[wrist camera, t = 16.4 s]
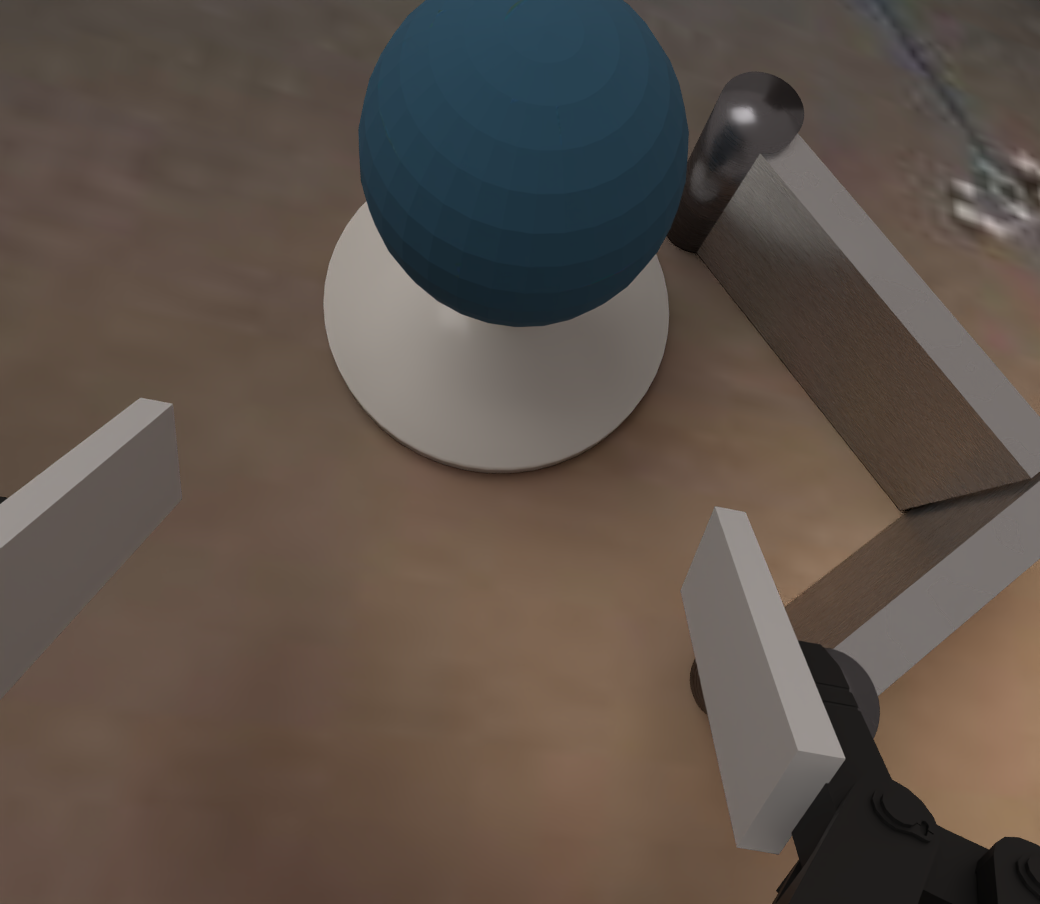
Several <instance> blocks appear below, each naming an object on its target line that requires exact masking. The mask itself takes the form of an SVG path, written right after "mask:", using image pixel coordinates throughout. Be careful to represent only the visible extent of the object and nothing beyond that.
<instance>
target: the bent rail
mask: <svg viewBox="0 0 1040 904" xmlns="http://www.w3.org/2000/svg"><path fill="white" fill-rule="evenodd" d="M803 120H804V108H803V104H802V102H801V99H800V97H799V96H798V94H797V93H796V91H795V90H794V89H793V88H792V87H791V86H790V85H789V84H788V83H786V82H785V81H784V80H782V79H780V78H778V77H776V76H774V75H771V74H768V73H763V72H747V73H743V74H740V75H738V76H736V77H734V78H732V79H731V80H730V81H729V82H728V83H727V84H726V85H725V87H724V89H723V90H722V92H721V94H720V96H719V99H718V101H717V103H716V105H715V107H714V109H713V111H712V113H711V115H710V117H709V119H708V121H707V123H706V125H705V127H704V129H703V131H702V133H701V135H700V137H699V139H698V141H697V143H696V145H695V147H694V150H693V152H692V154H691V156H690V158H689V160H688V162H687V170H686V183H685V186H684V190H683V193H682V197H681V200H680V204H679V207H678V210H677V213H676V215H675V218H674V220H673V223H672V226H671V228H670V230H669V232H668V234H667V236H668V238H669V239H670V240H671V241H672V242H673V243H674V244H675V245H676V246H678V247H679V248H681V249H683V250H686V251H689V252H694V253H697V254H698V255H699V256H700V258H701V259H702V260H703V261H704V263H705V264H706V265H707V266H708V268H709V269H710V270H711V271H712V273H713V274H714V275H715V277H716V278H717V279H718V280H719V282H720V283H721V284H722V285H723V287H724V288H725V289H726V290H727V292H728V293H729V294H730V296H731V297H732V298H733V299H734V301H735V302H736V303H737V304H738V306H739V307H740V308H741V309H742V311H743V312H744V313H745V315H746V316H747V317H748V318H749V320H750V321H751V322H752V323H753V325H754V326H755V327H756V328H757V330H758V331H759V332H760V334H761V335H762V336H763V337H764V339H765V340H766V341H767V342H768V344H769V345H770V346H771V347H772V349H773V350H774V351H775V353H776V354H777V355H778V356H779V358H780V359H781V360H782V361H783V363H784V364H785V365H786V366H787V368H788V369H789V370H790V372H791V373H792V374H793V375H794V377H795V378H796V379H797V380H798V382H799V383H800V384H801V386H802V387H803V388H804V389H805V391H806V392H807V393H808V394H809V396H810V397H811V398H812V399H813V401H814V402H815V403H816V405H817V406H818V407H819V408H820V410H821V411H822V412H823V413H824V415H825V416H826V417H827V418H828V420H829V421H830V422H831V424H832V425H833V426H834V427H835V429H836V430H837V431H838V432H839V434H840V435H841V436H842V437H843V439H844V440H845V441H846V443H847V444H848V445H849V446H850V448H851V449H852V450H853V451H854V453H855V454H856V455H857V456H858V458H859V459H860V460H861V462H862V463H863V464H864V465H865V467H866V468H867V469H868V470H869V472H870V473H871V474H872V475H873V477H874V478H875V479H876V481H877V482H878V483H879V484H880V486H881V487H882V488H883V489H884V491H885V492H886V493H887V494H888V496H889V497H890V498H891V500H892V501H893V502H894V503H895V505H896V506H897V507H898V508H899V510H904V509H908V508H912V507H913V508H912V509H910V510H909V511H908V512H906V513H905V514H904V515H903V516H901V517H900V518H899V519H898V520H896V521H895V522H894V523H892V524H891V525H890V526H889V527H887V528H886V529H885V530H883V531H882V532H881V533H880V534H878V535H877V536H876V537H874V538H873V539H872V540H871V541H869V542H868V543H867V544H865V545H864V546H863V547H862V548H860V549H859V550H858V551H856V552H855V553H854V554H853V555H851V556H850V557H849V558H847V559H846V560H845V561H844V562H842V563H841V564H840V565H838V566H837V567H836V568H835V569H833V570H832V571H831V572H830V573H828V574H827V575H826V576H824V577H823V578H822V579H821V580H819V581H818V582H817V583H815V584H814V585H813V586H812V587H810V588H809V589H808V590H806V591H805V592H804V593H803V594H801V595H800V596H799V597H797V598H796V599H795V600H794V601H792V602H791V603H790V604H788V605H787V606H786V607H785V611H786V613H787V616H788V618H789V620H790V623H791V625H792V628H793V630H794V633H795V635H796V638H797V640H799V641H805V642H810V643H816V644H821V645H822V646H823V647H824V649H825V650H826V651H827V652H828V653H829V654H830V655H831V657H832V658H833V659H834V660H835V661H836V662H837V663H838V665H839V666H840V668H841V670H842V672H843V674H844V677H845V679H846V681H847V683H848V685H849V687H850V689H849V691H850V692H851V693H852V694H853V696H854V698H855V700H856V703H857V705H858V711H861V714H862V716H863V718H864V720H865V722H866V724H867V727H868V729H869V731H870V733H871V735H872V737H873V738H874V737H875V734H876V731H877V728H878V724H879V716H880V707H879V700H878V695H880V694H881V693H882V692H883V691H884V690H886V689H887V688H888V687H889V686H890V685H891V684H893V683H894V682H895V681H896V680H897V679H898V678H900V677H901V676H902V675H903V674H904V673H906V672H907V671H908V670H909V669H910V668H911V667H913V666H914V665H915V664H916V663H917V662H918V661H920V660H921V659H922V658H923V657H924V656H926V655H927V654H928V653H929V652H930V651H931V650H933V649H934V648H935V647H936V646H937V645H938V644H940V643H941V642H942V641H943V640H944V639H946V638H947V637H948V636H949V635H950V634H951V633H953V632H954V631H955V630H956V629H957V628H958V627H960V626H961V625H962V624H963V623H964V622H966V621H967V620H968V619H969V618H970V617H971V616H973V615H974V614H975V613H976V612H977V611H979V610H980V609H981V608H982V607H983V606H984V605H986V604H987V603H988V602H989V601H990V600H991V599H993V598H994V597H995V596H996V595H997V594H999V593H1000V592H1001V591H1002V590H1003V589H1004V588H1006V587H1007V586H1008V585H1009V584H1010V583H1011V582H1013V581H1014V580H1015V579H1016V578H1017V577H1019V576H1020V575H1021V574H1022V573H1023V572H1024V571H1026V570H1027V569H1028V568H1029V567H1030V566H1031V565H1033V564H1034V563H1035V562H1036V561H1037V560H1039V559H1040V417H1039V416H1038V414H1037V413H1036V412H1035V411H1034V410H1033V409H1032V407H1031V406H1030V405H1029V404H1028V403H1027V402H1026V400H1025V399H1024V398H1023V397H1022V396H1021V395H1020V393H1019V392H1018V391H1017V390H1016V389H1015V387H1014V386H1013V385H1012V384H1011V383H1010V382H1009V380H1008V379H1007V378H1006V377H1005V376H1004V375H1003V373H1002V372H1001V371H1000V370H999V369H998V368H997V366H996V365H995V364H994V363H993V362H992V361H991V359H990V358H989V357H988V356H987V355H986V353H985V352H984V351H983V350H982V349H981V348H980V346H979V345H978V344H977V343H976V342H975V341H974V339H973V338H972V337H971V336H970V335H969V334H968V332H967V331H966V330H965V329H964V328H963V327H962V325H961V324H960V323H959V322H958V321H957V319H956V318H955V317H954V316H953V315H952V314H951V312H950V311H949V310H948V309H947V308H946V307H945V305H944V304H943V303H942V302H941V301H940V300H939V298H938V297H937V296H936V295H935V294H934V293H933V291H932V290H931V289H930V288H929V287H928V285H927V284H926V283H925V282H924V281H923V280H922V278H921V277H920V276H919V275H918V274H917V273H916V271H915V270H914V269H913V268H912V267H911V266H910V264H909V263H908V262H907V261H906V260H905V258H904V257H903V256H902V255H901V254H900V253H899V251H898V250H897V249H896V248H895V247H894V246H893V244H892V243H891V242H890V241H889V240H888V239H887V237H886V236H885V235H884V234H883V233H882V232H881V230H880V229H879V228H878V227H877V226H876V224H875V223H874V222H873V221H872V220H871V219H870V217H869V216H868V215H867V214H866V213H865V212H864V210H863V209H862V208H861V207H860V206H859V205H858V203H857V202H856V201H855V200H854V199H853V198H852V196H851V195H850V194H849V193H848V192H847V190H846V189H845V188H844V187H843V186H842V185H841V183H840V182H839V181H838V180H837V179H836V178H835V176H834V175H833V174H832V173H831V172H830V171H829V169H828V168H827V167H826V166H825V165H824V164H823V162H822V161H821V160H820V159H819V158H818V156H817V155H816V154H815V153H814V152H813V151H812V149H811V148H810V147H809V146H808V145H807V144H806V142H805V141H804V140H803V139H802V138H801V137H800V135H799V134H798V132H799V130H800V128H801V126H802V124H803ZM690 684H691V690H692V693H693V696H694V698H695V700H696V702H697V704H698V705H699V707H700V708H701V709H702V710H703V711H704V712H705V713H706V714H707V709H706V705H705V700H704V695H703V691H702V686H701V682H700V677H699V673H698V668H697V664H696V659H695V660H694V662H693V665H692V668H691V673H690ZM707 715H708V714H707Z"/></svg>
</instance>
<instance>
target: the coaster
mask: <svg viewBox="0 0 1040 904" xmlns="http://www.w3.org/2000/svg"><path fill="white" fill-rule="evenodd" d="M323 305H324V318H325V327H326V332H327V336H328V341H329V345H330V348H331V351H332V354H333V356H334V359H335V361H336V364H337V367H338V369H339V371H340V373H341V375H342V377H343V379H344V380H345V382H346V384H347V386H348V388H349V389H350V391H351V393H352V395H353V396H354V398H355V399H356V400H357V402H358V403H359V404H360V406H361V407H362V408H363V410H364V411H365V412H366V414H367V415H368V416H369V417H370V418H371V419H372V420H373V421H374V422H375V423H376V424H377V425H378V426H379V427H380V428H381V429H382V430H383V431H385V432H386V433H387V434H389V435H390V436H391V437H393V438H394V439H395V440H397V441H398V442H399V443H400V444H402V445H404V446H406V447H407V448H409V449H411V450H413V451H414V452H416V453H418V454H420V455H422V456H424V457H426V458H429V459H431V460H434V461H436V462H439V463H441V464H444V465H448V466H452V467H455V468H459V469H463V470H468V471H476V472H483V473H517V472H525V471H533V470H537V469H541V468H545V467H549V466H553V465H556V464H559V463H561V462H564V461H566V460H569V459H571V458H574V457H576V456H578V455H580V454H581V453H583V452H585V451H587V450H589V449H590V448H592V447H594V446H595V445H597V444H598V443H599V442H601V441H602V440H603V439H605V438H606V437H607V436H609V435H610V434H611V433H612V432H613V431H614V430H615V429H616V428H617V427H618V426H619V425H620V424H621V423H622V422H623V421H624V420H625V419H626V418H627V417H628V416H629V415H630V413H631V412H632V411H633V410H634V408H635V407H636V406H637V404H638V403H639V402H640V400H641V399H642V398H643V396H644V395H645V394H646V392H647V390H648V388H649V387H650V385H651V383H652V381H653V379H654V377H655V376H656V374H657V371H658V368H659V365H660V363H661V360H662V357H663V355H664V350H665V345H666V341H667V336H668V324H669V305H668V293H667V288H666V284H665V279H664V274H663V271H662V269H661V266H660V263H659V260H658V257H657V255H656V254H655V256H654V257H653V258H652V259H651V261H650V262H649V263H648V264H647V266H646V267H645V268H644V269H643V270H642V271H641V272H640V273H639V275H638V276H637V277H636V278H635V279H634V280H633V281H632V282H631V284H630V285H629V286H628V287H627V288H625V289H624V290H623V291H621V292H620V293H618V294H617V295H616V296H614V297H613V298H611V299H610V300H609V301H607V302H606V303H604V304H603V305H601V306H599V307H597V308H595V309H593V310H591V311H589V312H586V313H584V314H582V315H580V316H578V317H575V318H573V319H571V320H568V321H563V322H559V323H555V324H550V325H546V326H533V327H511V326H504V325H497V324H490V323H486V322H483V321H480V320H477V319H474V318H471V317H468V316H465V315H462V314H460V313H458V312H456V311H454V310H453V309H451V308H449V307H447V306H445V305H444V304H442V303H440V302H438V301H437V300H435V299H434V298H433V297H432V296H431V295H429V294H428V293H427V292H426V291H424V290H423V289H422V288H421V287H420V286H418V285H417V284H416V283H415V282H414V281H413V280H412V279H411V278H410V277H409V276H408V275H407V273H406V272H405V271H404V270H403V268H402V267H401V266H400V265H399V264H398V262H397V261H396V260H395V259H394V257H393V256H392V255H391V254H390V253H389V251H388V249H387V247H386V246H385V244H384V242H383V240H382V238H381V236H380V234H379V232H378V230H377V228H376V226H375V224H374V221H373V219H372V216H371V214H370V211H369V208H368V205H367V201H366V202H365V203H364V204H363V205H362V206H361V207H360V208H359V210H358V211H357V212H356V214H355V215H354V216H353V218H352V219H351V220H350V222H349V223H348V224H347V226H346V228H345V229H344V231H343V233H342V235H341V237H340V239H339V240H338V242H337V244H336V247H335V249H334V252H333V255H332V257H331V260H330V263H329V267H328V272H327V276H326V281H325V290H324V304H323Z"/></svg>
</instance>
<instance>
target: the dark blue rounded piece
mask: <svg viewBox="0 0 1040 904" xmlns="http://www.w3.org/2000/svg"><path fill="white" fill-rule="evenodd" d="M688 136H689V131H688V125H687V119H686V113H685V107H684V103H683V98H682V94H681V90H680V86H679V82H678V80H677V77H676V75H675V72H674V70H673V67H672V65H671V62H670V60H669V58H668V57H667V55H666V54H665V52H664V50H663V49H662V47H661V46H660V44H659V43H658V41H657V40H656V38H655V36H654V35H653V33H652V32H651V30H650V29H649V27H648V26H647V24H646V23H645V22H644V21H643V20H642V19H641V17H640V16H639V15H638V14H637V13H636V12H635V11H634V10H633V9H632V8H631V7H630V6H629V5H628V4H627V3H625V2H624V1H623V0H426V1H424V2H423V3H422V4H421V5H420V6H419V7H417V8H416V9H415V10H414V11H413V12H411V13H410V14H409V15H408V16H407V18H406V19H405V20H404V22H403V23H402V24H401V25H400V27H399V28H398V29H397V31H396V32H395V33H394V35H393V36H392V38H391V39H390V41H389V42H388V44H387V46H386V47H385V49H384V50H383V52H382V53H381V55H380V57H379V60H378V62H377V64H376V66H375V68H374V71H373V73H372V75H371V77H370V80H369V84H368V88H367V92H366V96H365V100H364V104H363V109H362V114H361V119H360V124H359V155H360V174H361V183H362V186H363V190H364V194H365V197H366V201H367V205H368V208H369V211H370V214H371V216H372V219H373V221H374V224H375V226H376V228H377V230H378V232H379V234H380V236H381V238H382V240H383V242H384V244H385V246H386V247H387V249H388V251H389V253H390V254H391V255H392V256H393V257H394V259H395V260H396V261H397V262H398V264H399V265H400V266H401V267H402V268H403V270H404V271H405V272H406V273H407V275H408V276H409V277H410V278H411V279H412V280H413V281H414V282H415V283H416V284H417V285H418V286H420V287H421V288H422V289H423V290H424V291H426V292H427V293H428V294H429V295H431V296H432V297H433V298H434V299H435V300H437V301H438V302H440V303H442V304H444V305H445V306H447V307H449V308H451V309H453V310H454V311H456V312H458V313H460V314H462V315H465V316H468V317H471V318H474V319H477V320H480V321H483V322H486V323H490V324H497V325H504V326H511V327H533V326H546V325H550V324H555V323H559V322H563V321H568V320H571V319H573V318H575V317H578V316H580V315H582V314H584V313H586V312H589V311H591V310H593V309H595V308H597V307H599V306H601V305H603V304H604V303H606V302H607V301H609V300H610V299H611V298H613V297H614V296H616V295H617V294H618V293H620V292H621V291H623V290H624V289H625V288H627V287H628V286H629V285H630V284H631V282H632V281H633V280H634V279H635V278H636V277H637V276H638V275H639V273H640V272H641V271H642V270H643V269H644V268H645V267H646V266H647V264H648V263H649V262H650V261H651V259H652V258H653V257H654V256H655V254H656V253H657V252H658V250H659V248H660V246H661V245H662V243H663V241H664V239H665V237H666V235H667V234H668V232H669V230H670V228H671V226H672V223H673V220H674V218H675V215H676V213H677V210H678V207H679V204H680V200H681V197H682V193H683V190H684V186H685V183H686V170H687V156H688Z"/></svg>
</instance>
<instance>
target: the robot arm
mask: <svg viewBox="0 0 1040 904" xmlns="http://www.w3.org/2000/svg"><path fill="white" fill-rule="evenodd" d="M181 500H182V491H181V481H180V471H179V460H178V450H177V440H176V429H175V419H174V409H173V404H171V403H166V402H160V401H155V400H150V399H144V398H139V399H138V400H137V401H135V402H134V403H133V404H131V405H130V406H129V407H127V408H126V409H125V410H124V411H122V412H121V413H120V414H118V415H117V416H116V417H114V418H113V419H112V420H110V421H109V422H108V423H106V424H105V425H104V426H102V427H101V428H100V429H99V430H97V431H96V432H95V433H93V434H92V435H91V436H89V437H88V438H87V439H85V440H84V441H83V442H81V443H80V444H79V445H77V446H76V447H75V448H73V449H72V450H71V451H70V452H68V453H67V454H66V455H64V456H63V457H62V458H60V459H59V460H58V461H56V462H55V463H54V464H52V465H51V466H50V467H48V468H47V469H46V470H44V471H43V472H42V473H41V474H39V475H38V476H37V477H35V478H34V479H33V480H31V481H30V482H29V483H27V484H26V485H25V486H23V487H22V488H21V489H19V490H18V491H17V492H15V493H14V494H13V495H12V496H10V497H9V498H6V497H0V700H1V699H2V697H3V696H4V695H5V694H6V693H7V692H8V691H9V690H10V689H11V687H12V686H13V685H14V684H15V683H16V682H17V681H18V680H19V679H20V678H21V676H22V675H23V674H24V673H25V672H26V671H27V670H28V669H29V668H30V666H31V665H32V664H33V663H34V662H35V661H36V660H37V659H38V658H39V657H40V655H41V654H42V653H43V652H44V651H45V650H46V649H47V648H48V647H49V646H50V644H51V643H52V642H53V641H54V640H55V639H56V638H57V637H58V636H59V634H60V633H61V632H62V631H63V630H64V629H65V628H66V627H67V626H68V625H69V623H70V622H71V621H72V620H73V619H74V618H75V617H76V616H77V615H78V613H79V612H80V611H81V610H82V609H83V608H84V607H85V606H86V605H87V604H88V602H89V601H90V600H91V599H92V598H93V597H94V596H95V595H96V594H97V592H98V591H99V590H100V589H101V588H102V587H103V586H104V585H105V584H106V583H107V581H108V580H109V579H110V578H111V577H112V576H113V575H114V574H115V573H116V572H117V570H118V569H119V568H120V567H121V566H122V565H123V564H124V563H125V562H126V560H127V559H128V558H129V557H130V556H131V555H132V554H133V553H134V552H135V551H136V549H137V548H138V547H139V546H140V545H141V544H142V543H143V542H144V541H145V539H146V538H147V537H148V536H149V535H150V534H151V533H152V532H153V531H154V530H155V528H156V527H157V526H158V525H159V524H160V523H161V522H162V521H163V520H164V519H165V517H166V516H167V515H168V514H169V513H170V512H171V511H172V510H173V509H174V507H175V506H176V505H177V504H178V503H179V502H180V501H181ZM681 595H682V600H683V604H684V609H685V613H686V618H687V622H688V627H689V632H690V636H691V641H692V645H693V650H694V654H695V659H696V664H697V668H698V673H699V677H700V682H701V686H702V691H703V695H704V700H705V705H706V709H707V714H708V718H709V723H710V727H711V732H712V737H713V741H714V746H715V750H716V755H717V759H718V764H719V769H720V773H721V778H722V782H723V787H724V791H725V796H726V801H727V805H728V810H729V814H730V819H731V823H732V828H733V833H734V837H735V842H736V846H737V847H738V848H744V849H750V850H756V851H762V852H767V853H773V854H779V853H780V852H781V851H782V849H783V848H784V846H785V845H786V843H787V842H788V841H789V839H790V838H791V836H793V840H794V843H795V846H796V850H797V853H798V857H799V860H798V861H797V863H796V864H795V866H794V867H793V868H792V870H791V871H790V872H789V874H788V875H787V876H786V878H785V879H784V881H783V882H782V883H781V885H780V886H779V887H778V889H777V890H776V891H777V892H778V894H777V896H776V898H775V900H774V901H773V903H772V904H1040V846H1038V845H1037V844H1034V843H1032V842H1029V841H1027V840H1024V839H1022V838H1019V837H1004V838H1002V839H1001V840H999V841H998V842H996V843H995V844H994V845H993V846H992V847H991V848H990V849H987V848H984V847H982V846H980V845H978V844H976V843H974V842H971V841H969V840H967V839H965V838H963V837H961V836H959V835H956V834H954V833H952V832H950V831H948V830H946V829H944V828H942V827H940V826H938V825H937V824H936V822H935V820H934V817H933V816H932V814H931V813H930V812H929V810H928V809H927V808H926V806H925V805H924V803H923V802H922V801H921V800H920V799H919V798H918V797H916V796H915V795H914V794H913V793H912V792H911V791H910V790H909V789H907V788H906V787H904V786H902V785H901V784H899V783H897V782H895V781H894V780H892V779H891V777H890V774H889V772H888V770H887V768H886V766H885V764H884V761H883V759H882V757H881V755H880V753H879V751H878V748H877V746H876V744H875V742H874V740H873V737H872V735H871V733H870V731H869V729H868V727H867V724H866V722H865V720H864V718H863V716H862V714H861V711H858V705H857V703H856V700H855V698H854V696H853V694H852V693H851V692H850V691H849V689H850V687H849V685H848V683H847V681H846V679H845V677H844V674H843V672H842V670H841V668H840V666H839V665H838V663H837V662H836V661H835V660H834V659H833V658H832V657H831V655H830V654H829V653H828V652H827V651H826V650H825V649H824V647H823V646H822V645H821V644H816V643H810V642H805V641H799V640H797V638H796V635H795V633H794V630H793V628H792V625H791V623H790V620H789V618H788V616H787V613H786V611H785V608H784V606H783V603H782V601H781V598H780V596H779V593H778V591H777V588H776V586H775V584H774V581H773V579H772V576H771V574H770V571H769V569H768V566H767V564H766V561H765V559H764V556H763V554H762V552H761V549H760V547H759V544H758V542H757V539H756V537H755V534H754V532H753V529H752V527H751V524H750V522H749V520H748V517H747V515H746V512H742V511H737V510H732V509H726V508H721V507H716V506H715V507H714V510H713V512H712V515H711V517H710V520H709V522H708V524H707V527H706V529H705V532H704V534H703V537H702V539H701V542H700V544H699V547H698V549H697V551H696V554H695V556H694V559H693V561H692V564H691V566H690V569H689V571H688V573H687V576H686V578H685V581H684V583H683V586H682V588H681Z"/></svg>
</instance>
